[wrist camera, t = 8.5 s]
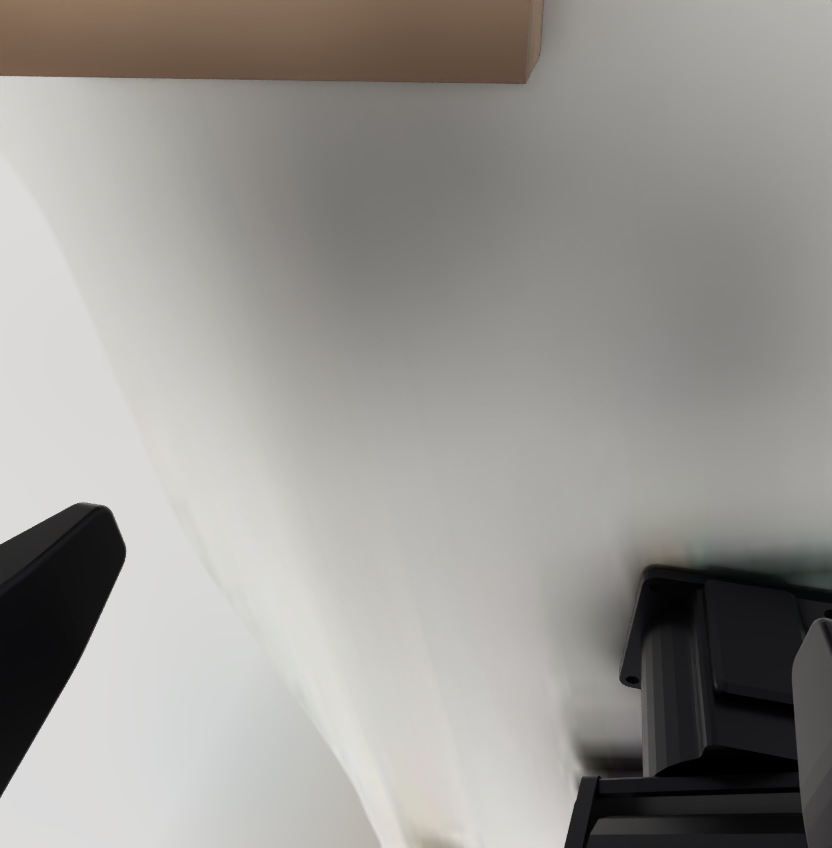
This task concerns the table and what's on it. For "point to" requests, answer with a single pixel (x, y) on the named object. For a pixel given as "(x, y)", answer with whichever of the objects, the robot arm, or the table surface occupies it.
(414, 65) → the walnut base
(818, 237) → the table surface
